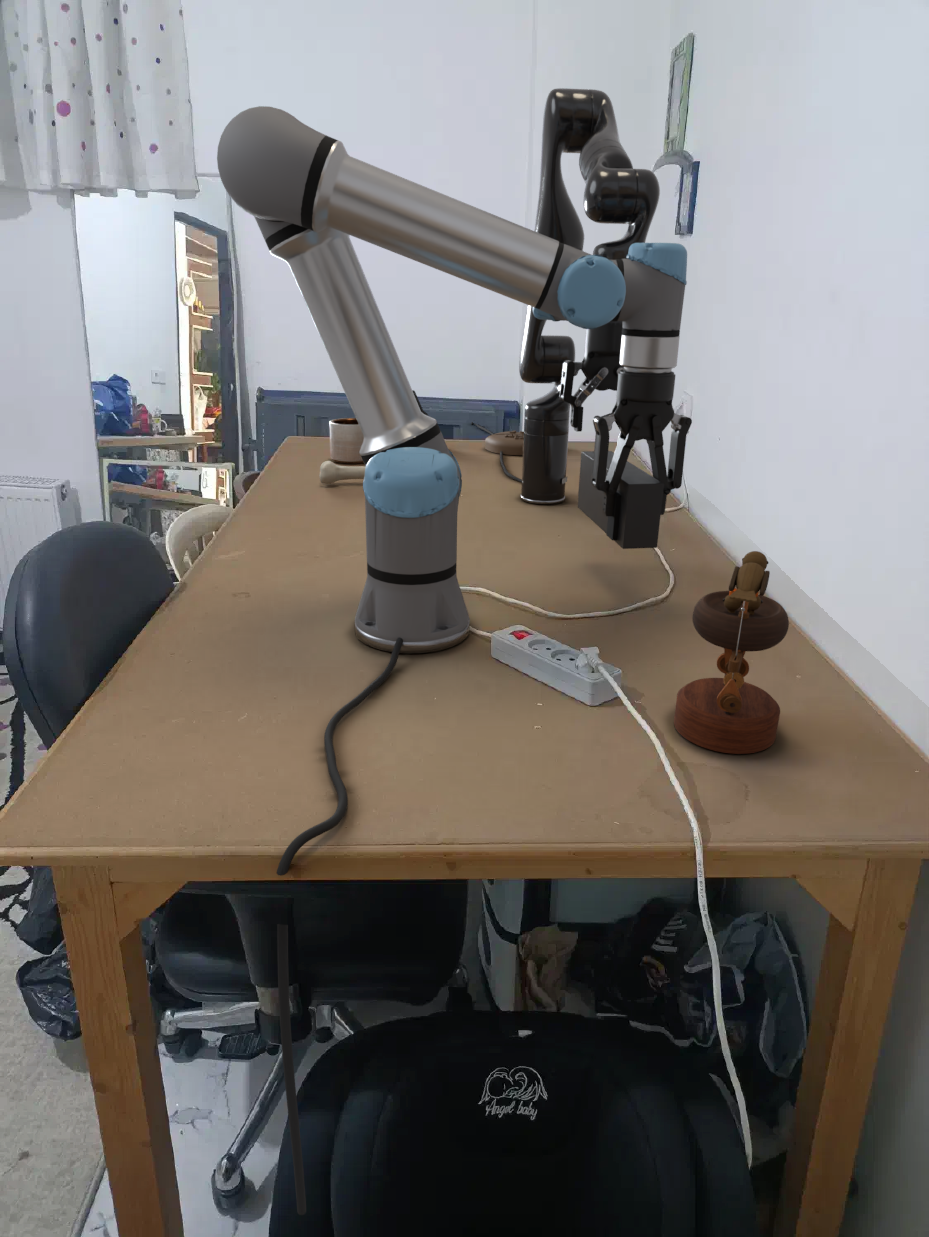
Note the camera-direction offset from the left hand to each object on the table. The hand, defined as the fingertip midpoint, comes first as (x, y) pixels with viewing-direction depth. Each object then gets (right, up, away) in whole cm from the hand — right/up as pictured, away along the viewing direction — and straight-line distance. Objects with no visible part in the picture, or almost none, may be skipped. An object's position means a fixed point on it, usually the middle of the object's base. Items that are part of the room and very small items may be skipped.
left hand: (631, 536), depth 121 cm
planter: (-52, +28, +93) cm, 110 cm away
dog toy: (-47, +19, +69) cm, 86 cm away
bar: (-1, +2, +7) cm, 8 cm away
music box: (+4, -23, -31) cm, 39 cm away
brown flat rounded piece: (-8, +32, +103) cm, 108 cm away
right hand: (-2, +17, +10) cm, 20 cm away
